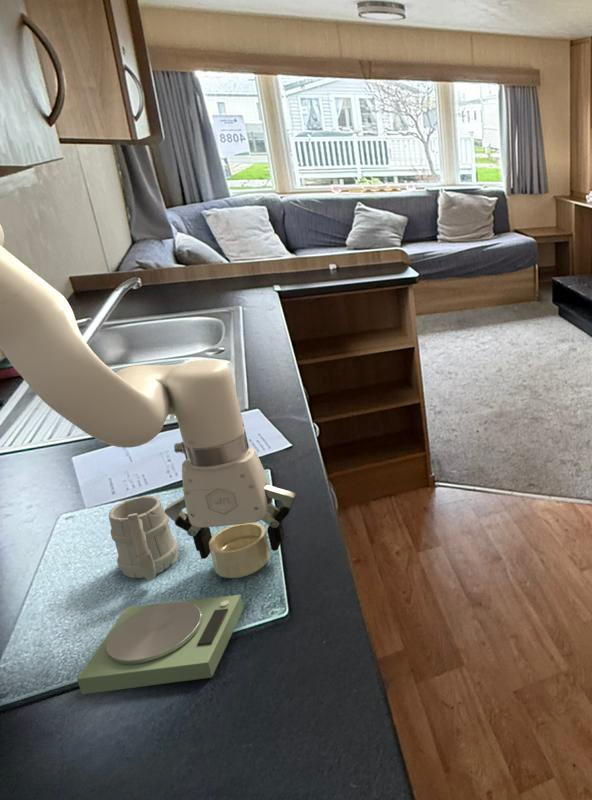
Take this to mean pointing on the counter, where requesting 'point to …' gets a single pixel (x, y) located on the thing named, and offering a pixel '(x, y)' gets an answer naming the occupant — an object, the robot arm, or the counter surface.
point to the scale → (176, 666)
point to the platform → (154, 632)
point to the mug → (142, 537)
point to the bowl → (239, 550)
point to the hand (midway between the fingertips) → (243, 548)
